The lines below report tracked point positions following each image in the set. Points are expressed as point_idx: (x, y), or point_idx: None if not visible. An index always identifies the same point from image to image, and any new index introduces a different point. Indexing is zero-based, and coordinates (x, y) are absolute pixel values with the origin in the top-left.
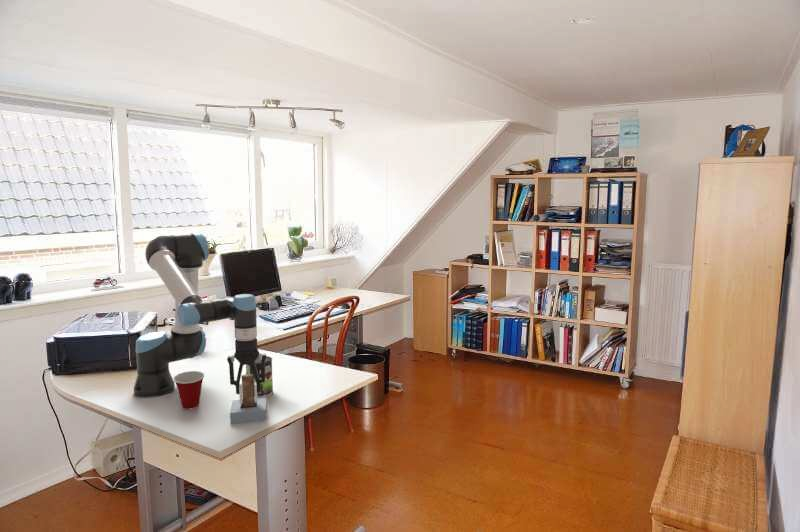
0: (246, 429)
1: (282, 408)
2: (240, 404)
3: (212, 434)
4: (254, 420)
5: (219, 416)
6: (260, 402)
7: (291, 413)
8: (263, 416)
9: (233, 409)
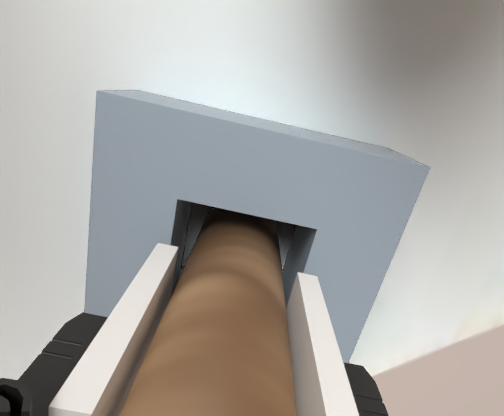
0: None
1: (482, 210)
2: (166, 236)
3: None
4: None
5: (41, 157)
6: (337, 263)
7: (490, 311)
8: None
9: (106, 311)
